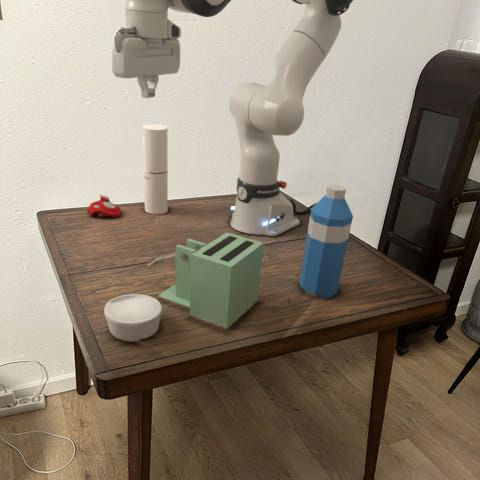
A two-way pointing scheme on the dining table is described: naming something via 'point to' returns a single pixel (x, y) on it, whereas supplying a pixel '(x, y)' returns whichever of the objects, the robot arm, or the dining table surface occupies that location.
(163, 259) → the lever
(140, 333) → the ramekin
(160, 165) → the cylindrical container
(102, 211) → the tracker holder
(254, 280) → the toaster
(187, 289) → the switch bracket
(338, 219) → the water bottle
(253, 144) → the robot arm
